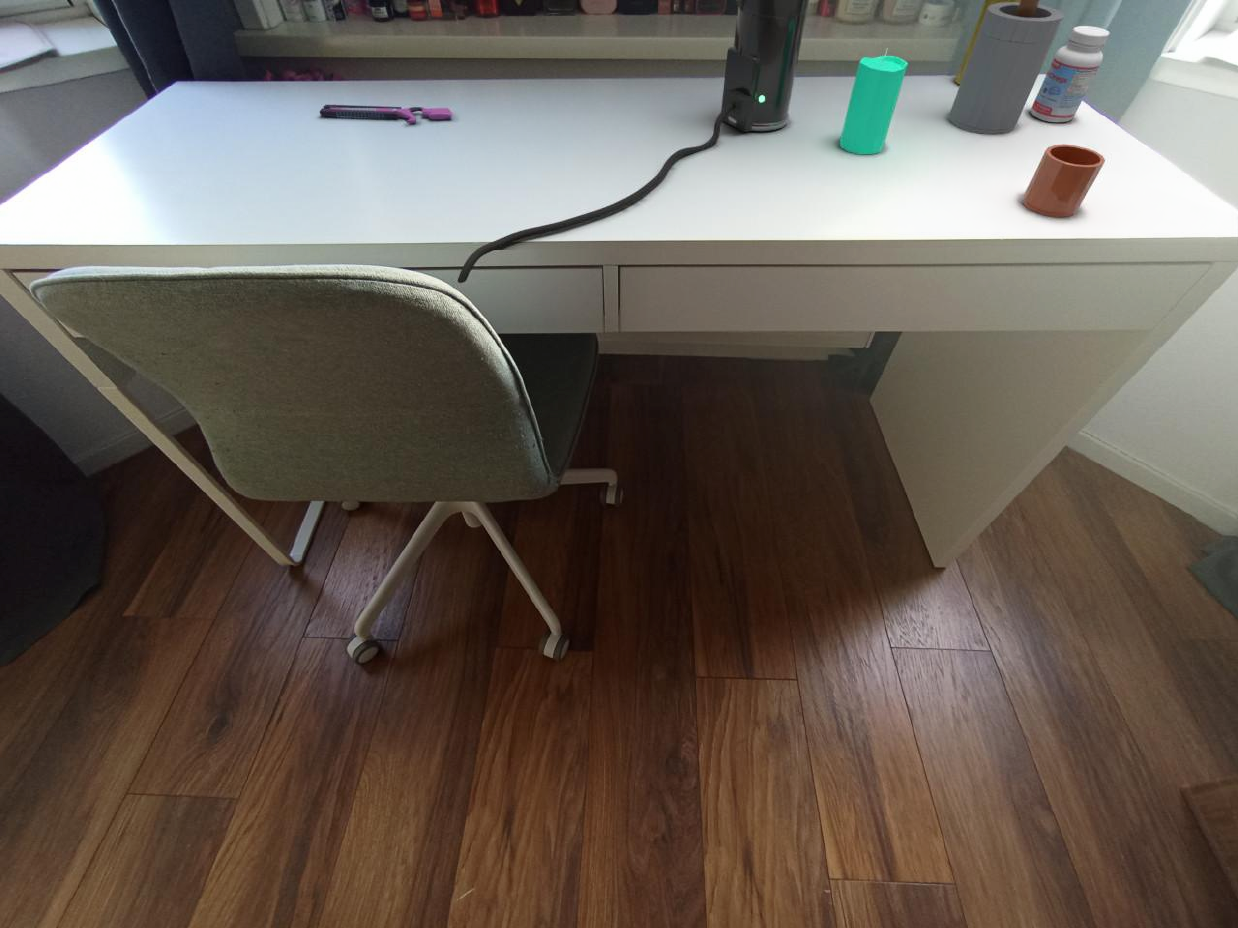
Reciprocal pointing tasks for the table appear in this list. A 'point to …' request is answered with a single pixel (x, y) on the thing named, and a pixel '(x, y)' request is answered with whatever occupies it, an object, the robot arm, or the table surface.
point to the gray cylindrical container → (1003, 68)
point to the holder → (1062, 180)
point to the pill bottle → (1070, 75)
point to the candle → (872, 103)
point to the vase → (988, 1)
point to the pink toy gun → (383, 112)
